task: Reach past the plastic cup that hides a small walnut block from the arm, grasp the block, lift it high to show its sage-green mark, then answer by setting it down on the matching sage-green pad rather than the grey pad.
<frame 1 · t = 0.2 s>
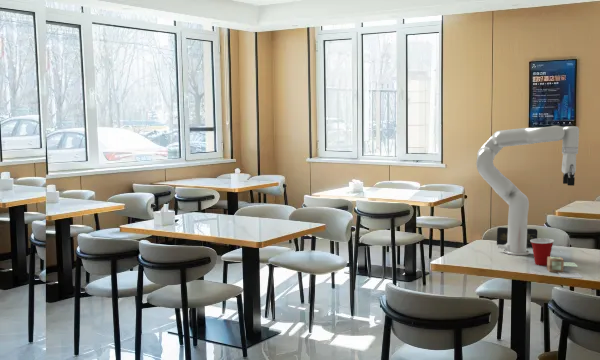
hand: (568, 184, 331), 37 cm above the table, tool pointing down, fingers open, 9 cm apart
grey pad: (570, 275, 290), on the table
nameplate: (516, 246, 360), on the table
plastic cup: (540, 264, 312), on the table
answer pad: (566, 264, 313), on the table
letter block: (554, 271, 299), on the table
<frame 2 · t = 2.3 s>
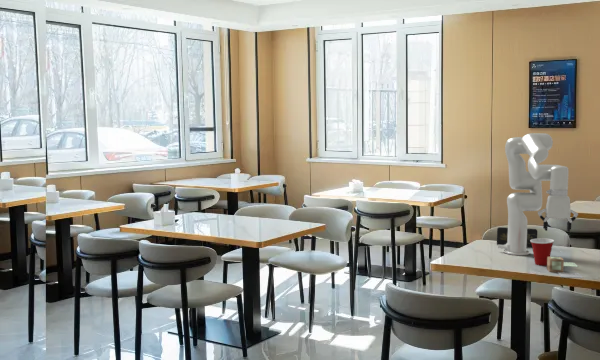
hand: (557, 230, 297), 19 cm above the table, tool pointing down, fingers open, 9 cm apart
nothing on the table moved.
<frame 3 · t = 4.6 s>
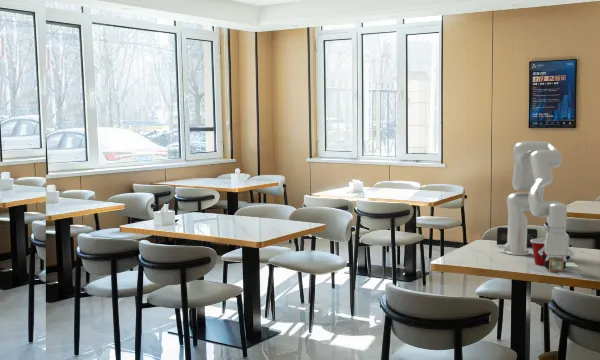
hand: (555, 269, 298), 1 cm above the table, tool pointing down, fingers closed on letter block, 6 cm apart
letter block: (555, 270, 299), on the table, touching gripper
everything else where it was.
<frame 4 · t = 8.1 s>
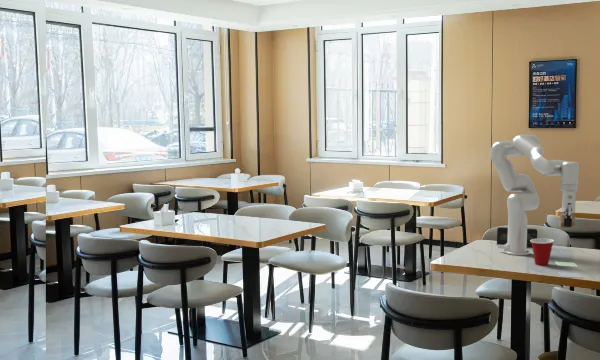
hand: (566, 225, 310), 19 cm above the table, tool pointing down, fingers closed on letter block, 6 cm apart
letter block: (566, 226, 310), point 18 cm above the table, touching gripper
everything else where it was.
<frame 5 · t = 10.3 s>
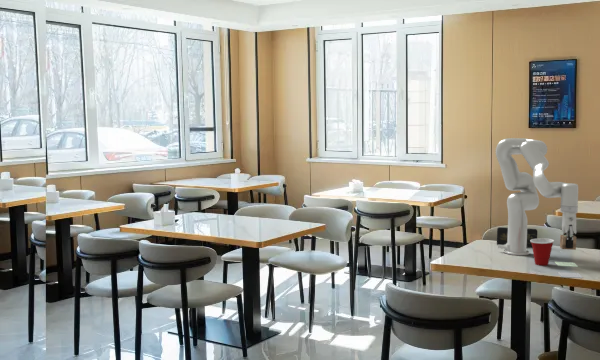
hand: (567, 246, 312), 9 cm above the table, tool pointing down, fingers closed on letter block, 6 cm apart
letter block: (567, 248, 312), point 8 cm above the table, touching gripper
everything else where it was.
when the fingers open (2 cm above the table, at t = 12.0 s): letter block drops 1 cm, resting on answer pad.
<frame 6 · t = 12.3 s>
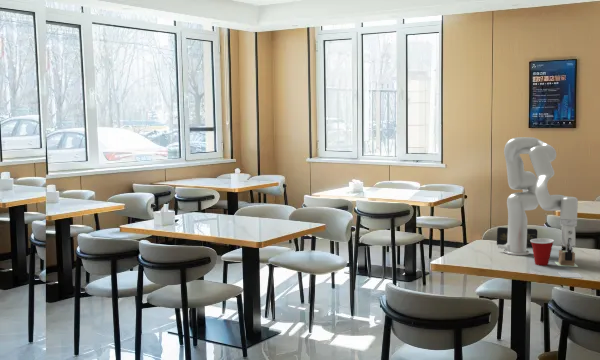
hand: (566, 258, 313), 3 cm above the table, tool pointing down, fingers open, 8 cm apart
letter block: (566, 264, 313), resting on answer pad
everything else where it was.
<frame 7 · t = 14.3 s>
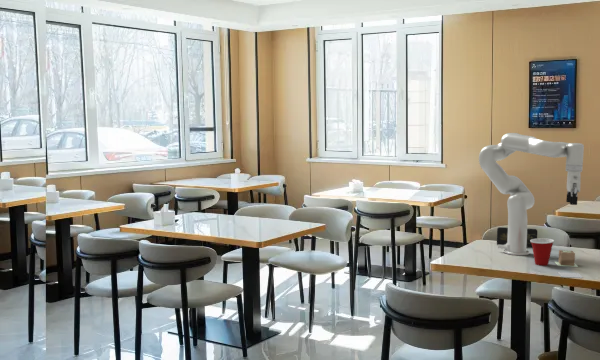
hand: (571, 203, 319), 28 cm above the table, tool pointing down, fingers open, 9 cm apart
nothing on the table moved.
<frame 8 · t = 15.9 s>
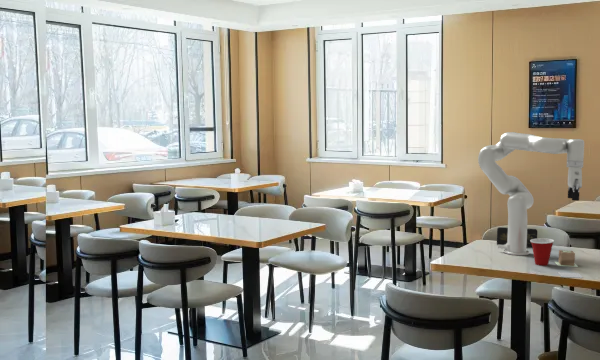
hand: (573, 199, 320), 30 cm above the table, tool pointing down, fingers open, 9 cm apart
nothing on the table moved.
at the end: letter block inside the target area on the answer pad (0.1 cm from its centre), point 0.2 cm above the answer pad's base; letter block tilted 0°; the gripper is holding nothing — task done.
